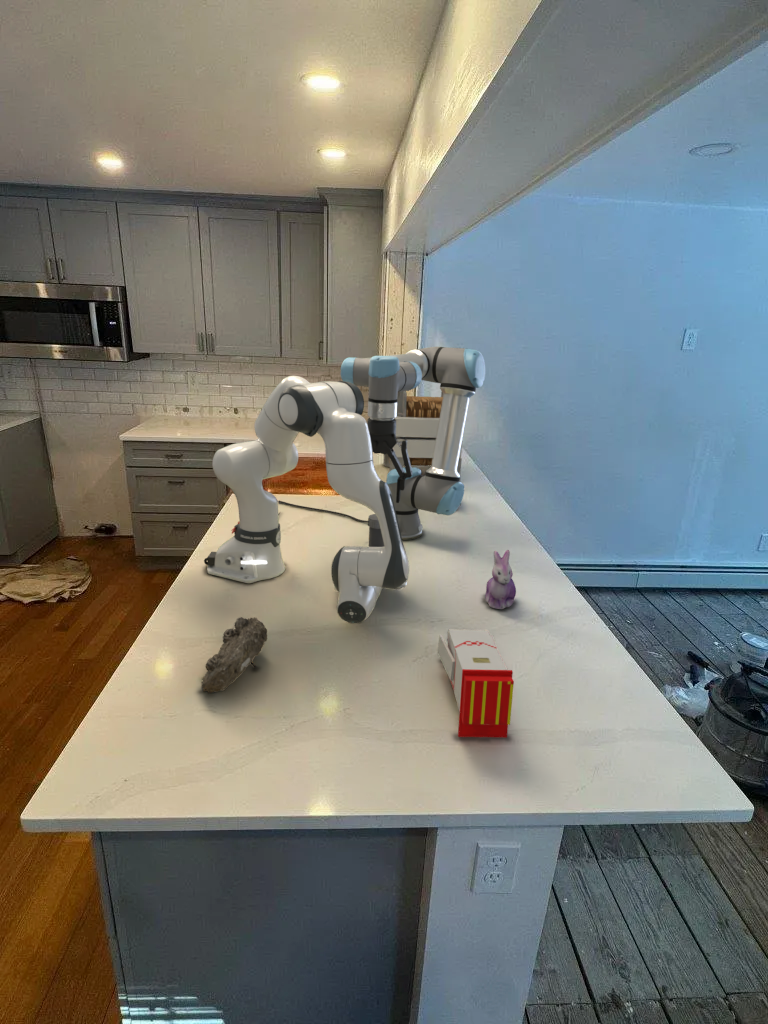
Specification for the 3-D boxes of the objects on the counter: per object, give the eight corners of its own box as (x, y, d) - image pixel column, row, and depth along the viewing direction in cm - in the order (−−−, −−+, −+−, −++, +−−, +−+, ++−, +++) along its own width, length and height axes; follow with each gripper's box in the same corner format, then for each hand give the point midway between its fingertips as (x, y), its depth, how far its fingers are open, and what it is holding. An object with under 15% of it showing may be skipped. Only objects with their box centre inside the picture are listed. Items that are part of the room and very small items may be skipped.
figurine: (497, 613, 149) (504, 562, 144) (474, 596, 158) (480, 547, 153) (525, 606, 154) (532, 556, 149) (501, 590, 162) (508, 542, 157)
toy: (488, 613, 130) (523, 677, 101) (484, 667, 133) (517, 744, 104) (435, 612, 130) (455, 676, 101) (432, 666, 133) (451, 743, 103)
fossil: (219, 620, 133) (266, 590, 128) (247, 647, 136) (294, 619, 131) (181, 686, 113) (234, 654, 108) (214, 717, 116) (267, 687, 111)
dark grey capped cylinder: (386, 584, 163) (389, 518, 156) (376, 589, 160) (378, 522, 153) (374, 579, 166) (376, 514, 159) (363, 584, 162) (366, 518, 156)
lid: (390, 525, 157) (391, 517, 156) (378, 530, 153) (379, 521, 152) (376, 520, 160) (376, 512, 159) (364, 525, 156) (364, 517, 155)
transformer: (382, 463, 289) (386, 382, 275) (445, 464, 293) (451, 384, 279) (390, 482, 257) (394, 392, 243) (460, 483, 261) (468, 394, 247)
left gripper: (405, 577, 146) (413, 556, 159) (329, 568, 149) (342, 547, 162) (404, 599, 148) (411, 576, 161) (328, 589, 151) (341, 567, 164)
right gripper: (426, 418, 149) (421, 498, 156) (342, 412, 152) (341, 491, 159) (424, 423, 142) (418, 507, 149) (335, 417, 145) (334, 499, 152)
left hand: (376, 562), depth 161 cm, fingers open, 7 cm apart
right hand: (378, 499), depth 154 cm, fingers open, 10 cm apart
